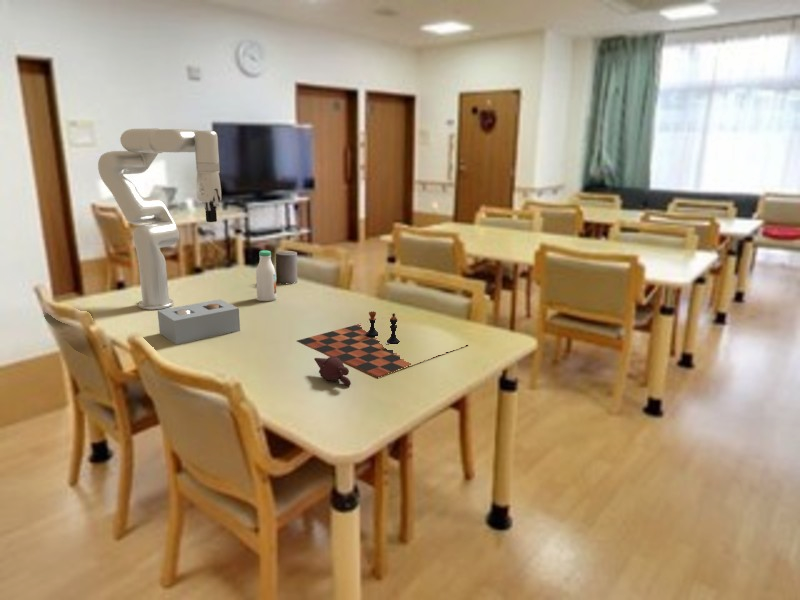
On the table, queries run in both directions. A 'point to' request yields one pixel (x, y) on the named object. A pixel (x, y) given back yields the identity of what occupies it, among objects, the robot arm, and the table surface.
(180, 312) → the steel peg
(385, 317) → the table surface
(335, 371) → the brown knobby figurine
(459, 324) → the table surface
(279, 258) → the pillar candle
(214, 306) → the brown rounded cylinder
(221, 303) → the socket board
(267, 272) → the milk bottle
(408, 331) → the table surface
